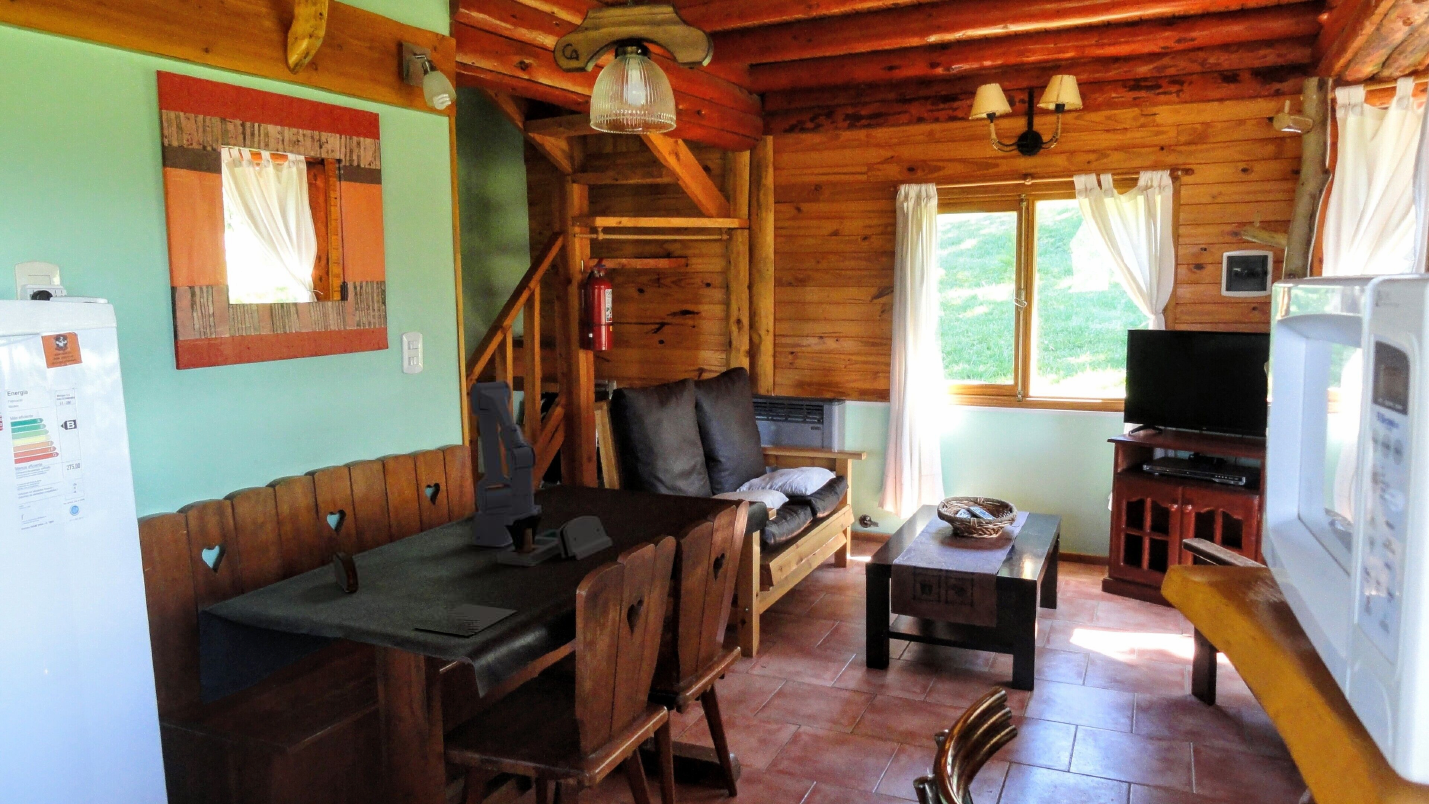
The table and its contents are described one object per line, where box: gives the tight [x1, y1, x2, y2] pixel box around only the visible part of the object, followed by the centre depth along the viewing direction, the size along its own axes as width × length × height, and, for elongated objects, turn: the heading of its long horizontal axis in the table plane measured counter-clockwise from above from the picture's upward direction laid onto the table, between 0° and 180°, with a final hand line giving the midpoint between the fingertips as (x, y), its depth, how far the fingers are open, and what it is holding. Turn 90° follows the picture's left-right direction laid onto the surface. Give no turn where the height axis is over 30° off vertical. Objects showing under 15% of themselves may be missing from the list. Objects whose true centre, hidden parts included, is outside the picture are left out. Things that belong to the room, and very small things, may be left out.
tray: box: [496, 528, 561, 567], centre depth 258 cm, size 10×26×2 cm, turn 159°
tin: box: [331, 548, 359, 592], centre depth 230 cm, size 15×3×8 cm, turn 32°
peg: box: [517, 527, 533, 554], centre depth 250 cm, size 4×4×8 cm
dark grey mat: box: [445, 603, 518, 635], centre depth 210 cm, size 23×25×1 cm
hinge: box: [556, 515, 613, 561], centre depth 258 cm, size 17×5×10 cm, turn 153°
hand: (524, 546), depth 250 cm, fingers open, 4 cm apart
